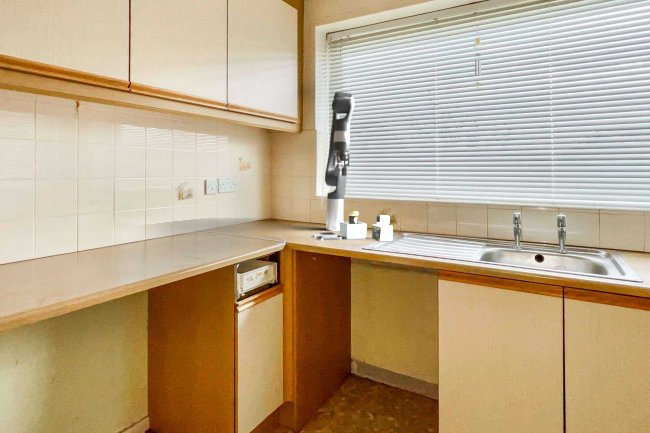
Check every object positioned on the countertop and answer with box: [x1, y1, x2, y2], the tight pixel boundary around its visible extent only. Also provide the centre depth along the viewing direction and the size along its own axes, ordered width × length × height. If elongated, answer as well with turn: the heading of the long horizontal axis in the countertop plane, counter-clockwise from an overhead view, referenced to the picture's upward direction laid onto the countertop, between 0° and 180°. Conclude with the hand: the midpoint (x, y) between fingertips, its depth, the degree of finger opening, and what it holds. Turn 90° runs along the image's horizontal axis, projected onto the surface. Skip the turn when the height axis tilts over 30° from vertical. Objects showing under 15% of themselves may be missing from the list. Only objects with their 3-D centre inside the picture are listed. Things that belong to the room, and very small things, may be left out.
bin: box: [338, 221, 368, 240], centre depth 182 cm, size 9×10×8 cm
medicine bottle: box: [371, 214, 394, 242], centre depth 184 cm, size 7×7×12 cm
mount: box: [311, 231, 345, 242], centre depth 178 cm, size 12×12×3 cm
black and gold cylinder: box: [347, 211, 359, 224], centre depth 182 cm, size 5×5×13 cm
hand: (340, 175), depth 183 cm, fingers open, 8 cm apart
